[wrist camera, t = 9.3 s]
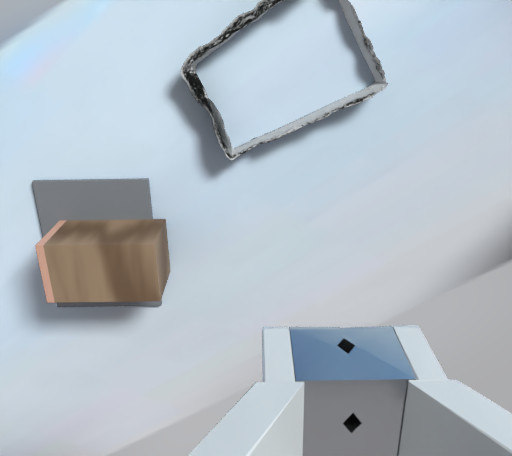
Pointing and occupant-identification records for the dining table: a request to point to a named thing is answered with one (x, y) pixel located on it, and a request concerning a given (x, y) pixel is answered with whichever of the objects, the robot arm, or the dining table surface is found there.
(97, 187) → the charcoal mat
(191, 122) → the dining table surface
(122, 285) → the brown rectangular block
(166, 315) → the dining table surface
